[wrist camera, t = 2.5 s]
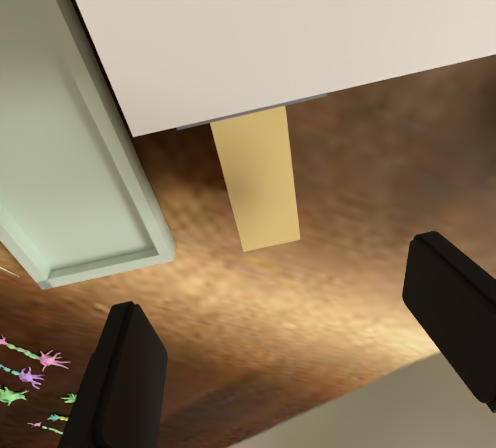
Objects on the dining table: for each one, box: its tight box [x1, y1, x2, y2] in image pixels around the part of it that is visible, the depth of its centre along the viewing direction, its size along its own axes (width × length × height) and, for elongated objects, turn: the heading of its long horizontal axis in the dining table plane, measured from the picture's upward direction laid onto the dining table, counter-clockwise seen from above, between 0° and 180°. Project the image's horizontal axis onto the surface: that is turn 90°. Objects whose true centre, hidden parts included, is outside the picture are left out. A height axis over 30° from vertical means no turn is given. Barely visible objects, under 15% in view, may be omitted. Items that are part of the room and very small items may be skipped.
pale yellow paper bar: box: [210, 106, 300, 252], centre depth 14 cm, size 12×3×7 cm, turn 11°
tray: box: [0, 0, 176, 290], centre depth 17 cm, size 18×10×2 cm, turn 11°
